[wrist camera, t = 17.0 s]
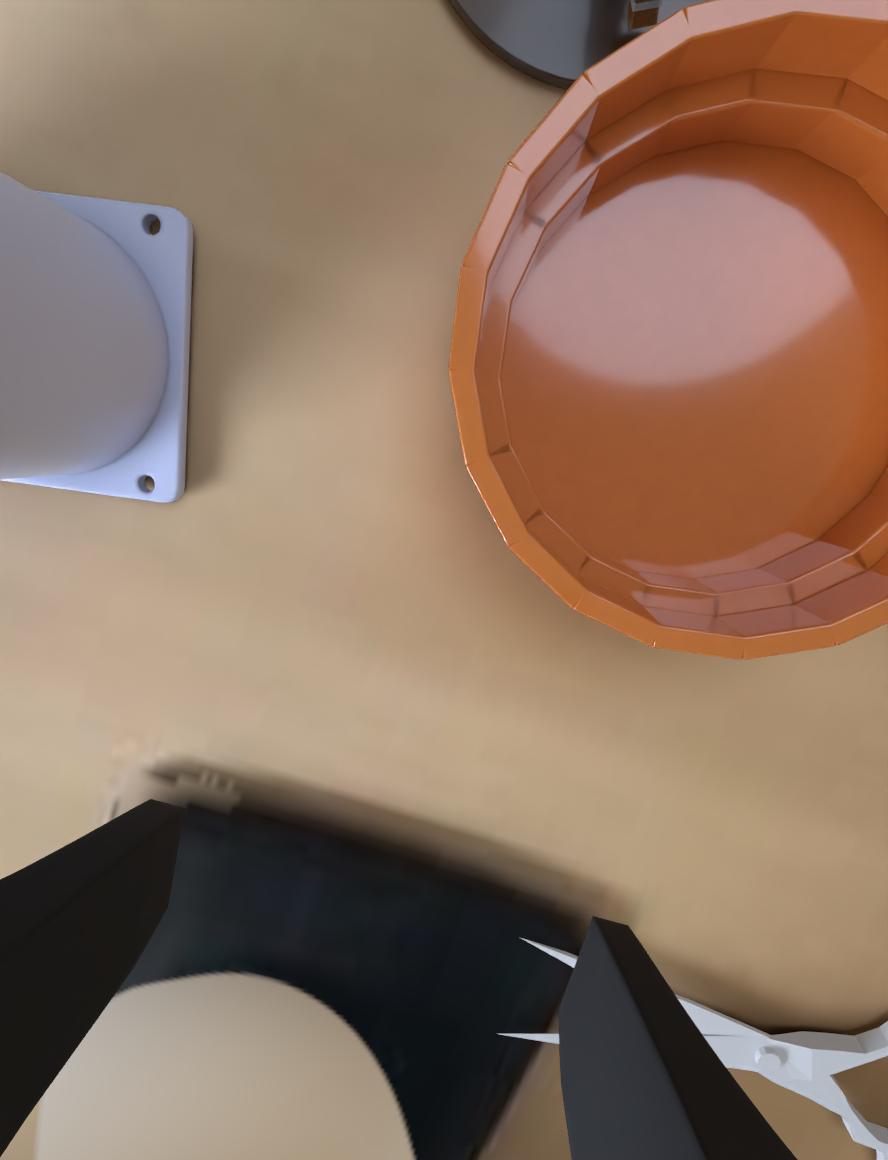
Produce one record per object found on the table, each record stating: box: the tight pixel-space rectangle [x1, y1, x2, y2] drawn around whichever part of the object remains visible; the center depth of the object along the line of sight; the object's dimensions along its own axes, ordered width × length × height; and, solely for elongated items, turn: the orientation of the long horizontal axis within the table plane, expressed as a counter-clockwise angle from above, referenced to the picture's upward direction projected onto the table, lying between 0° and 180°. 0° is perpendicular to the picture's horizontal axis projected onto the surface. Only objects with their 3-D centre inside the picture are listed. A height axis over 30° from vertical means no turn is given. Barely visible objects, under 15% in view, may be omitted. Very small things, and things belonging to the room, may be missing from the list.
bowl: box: [448, 0, 888, 660], centre depth 15 cm, size 14×14×4 cm
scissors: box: [500, 938, 888, 1160], centre depth 21 cm, size 11×1×20 cm
